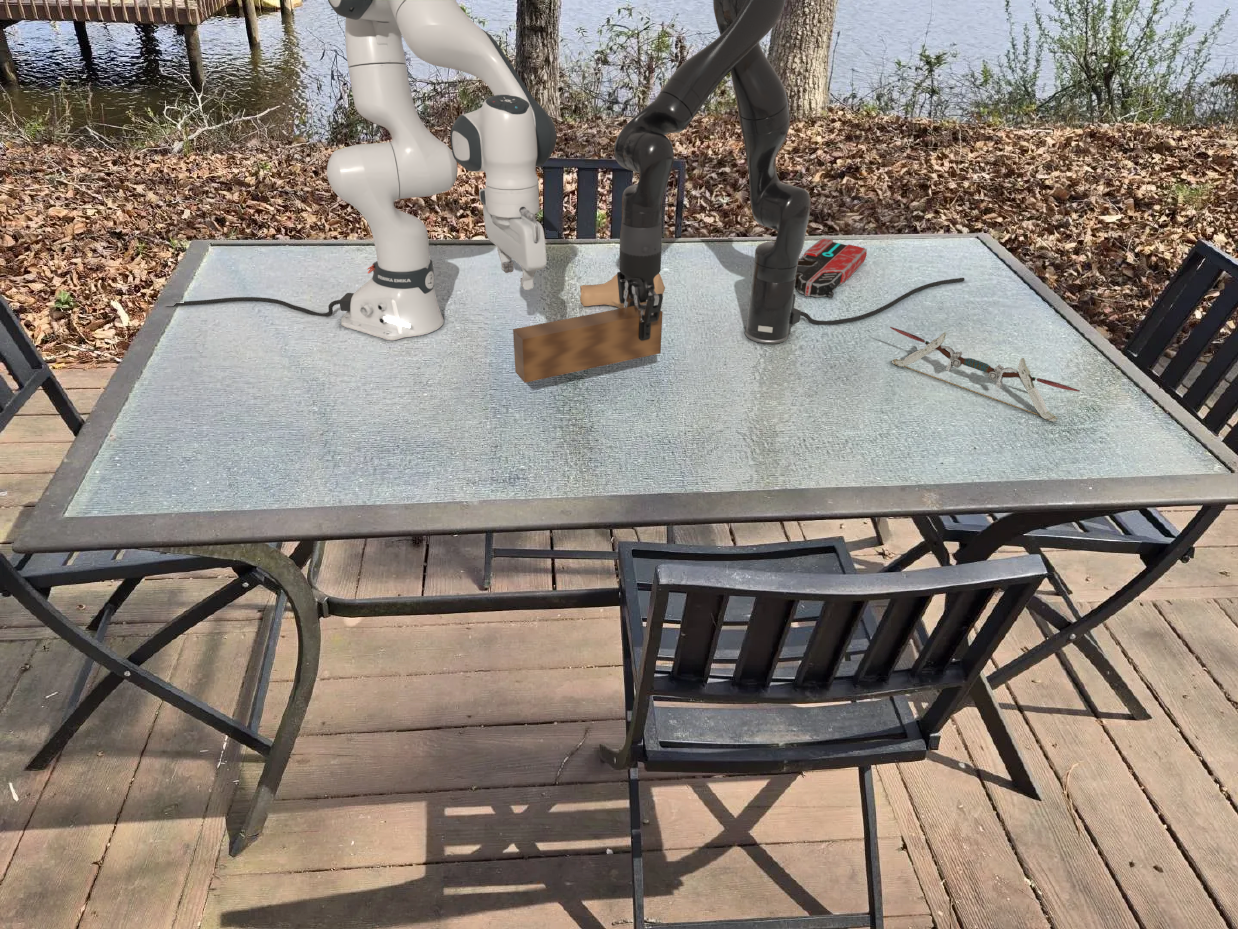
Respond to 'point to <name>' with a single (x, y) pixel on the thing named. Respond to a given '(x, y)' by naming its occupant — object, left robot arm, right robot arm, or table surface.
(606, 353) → the bar
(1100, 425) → the table surface
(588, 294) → the squash
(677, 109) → the right robot arm
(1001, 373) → the bow
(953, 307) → the table surface
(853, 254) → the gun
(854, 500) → the table surface
